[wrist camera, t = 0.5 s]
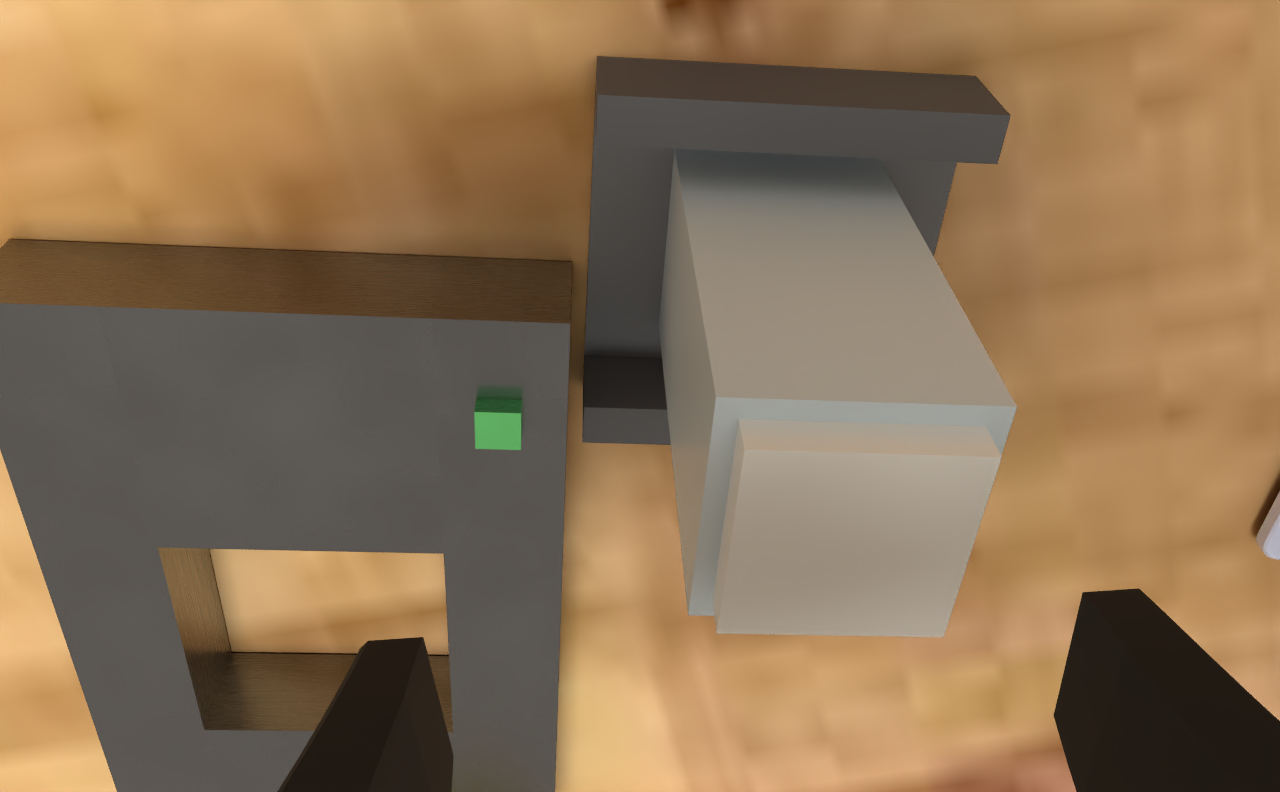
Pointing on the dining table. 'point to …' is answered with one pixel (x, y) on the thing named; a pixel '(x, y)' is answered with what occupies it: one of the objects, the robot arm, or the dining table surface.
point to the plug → (819, 400)
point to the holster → (740, 122)
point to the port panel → (287, 483)
